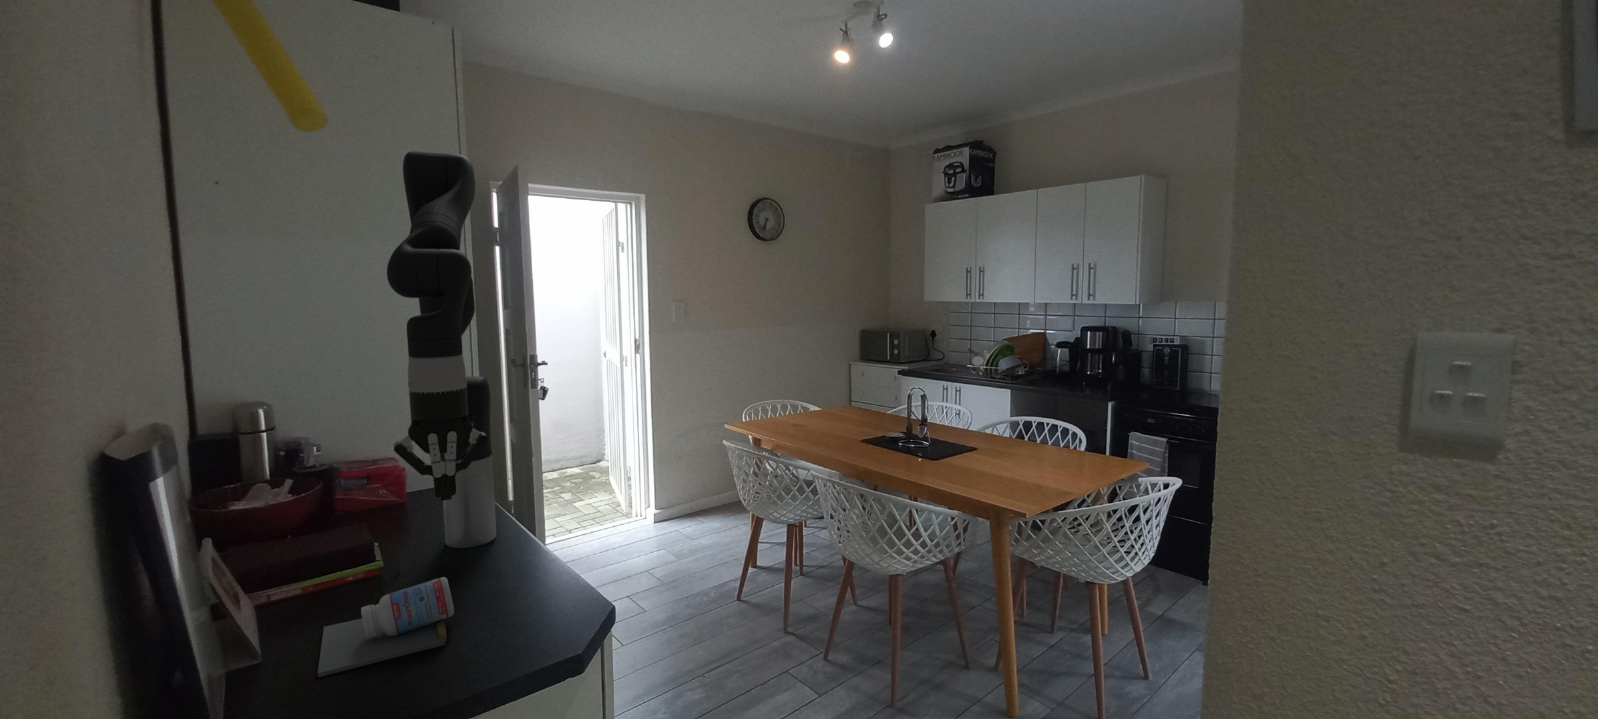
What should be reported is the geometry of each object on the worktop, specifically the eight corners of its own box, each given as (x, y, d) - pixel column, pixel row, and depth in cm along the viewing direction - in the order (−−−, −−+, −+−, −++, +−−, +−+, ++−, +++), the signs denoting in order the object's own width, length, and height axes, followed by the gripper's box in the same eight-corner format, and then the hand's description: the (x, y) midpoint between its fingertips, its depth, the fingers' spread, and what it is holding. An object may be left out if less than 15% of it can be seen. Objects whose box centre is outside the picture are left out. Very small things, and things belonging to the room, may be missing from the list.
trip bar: (433, 608, 107) (432, 601, 107) (440, 607, 108) (439, 599, 107) (439, 643, 97) (438, 635, 97) (447, 641, 97) (446, 633, 97)
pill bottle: (455, 611, 99) (366, 642, 93) (455, 617, 103) (370, 647, 97) (446, 571, 101) (358, 599, 94) (445, 579, 105) (362, 607, 99)
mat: (324, 630, 100) (323, 626, 100) (437, 604, 108) (437, 601, 108) (317, 677, 88) (317, 673, 88) (445, 644, 96) (445, 640, 96)
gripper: (483, 378, 105) (489, 485, 108) (385, 385, 98) (393, 499, 101) (490, 385, 99) (496, 498, 101) (385, 393, 92) (395, 514, 94)
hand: (445, 498), depth 101 cm, fingers closed
